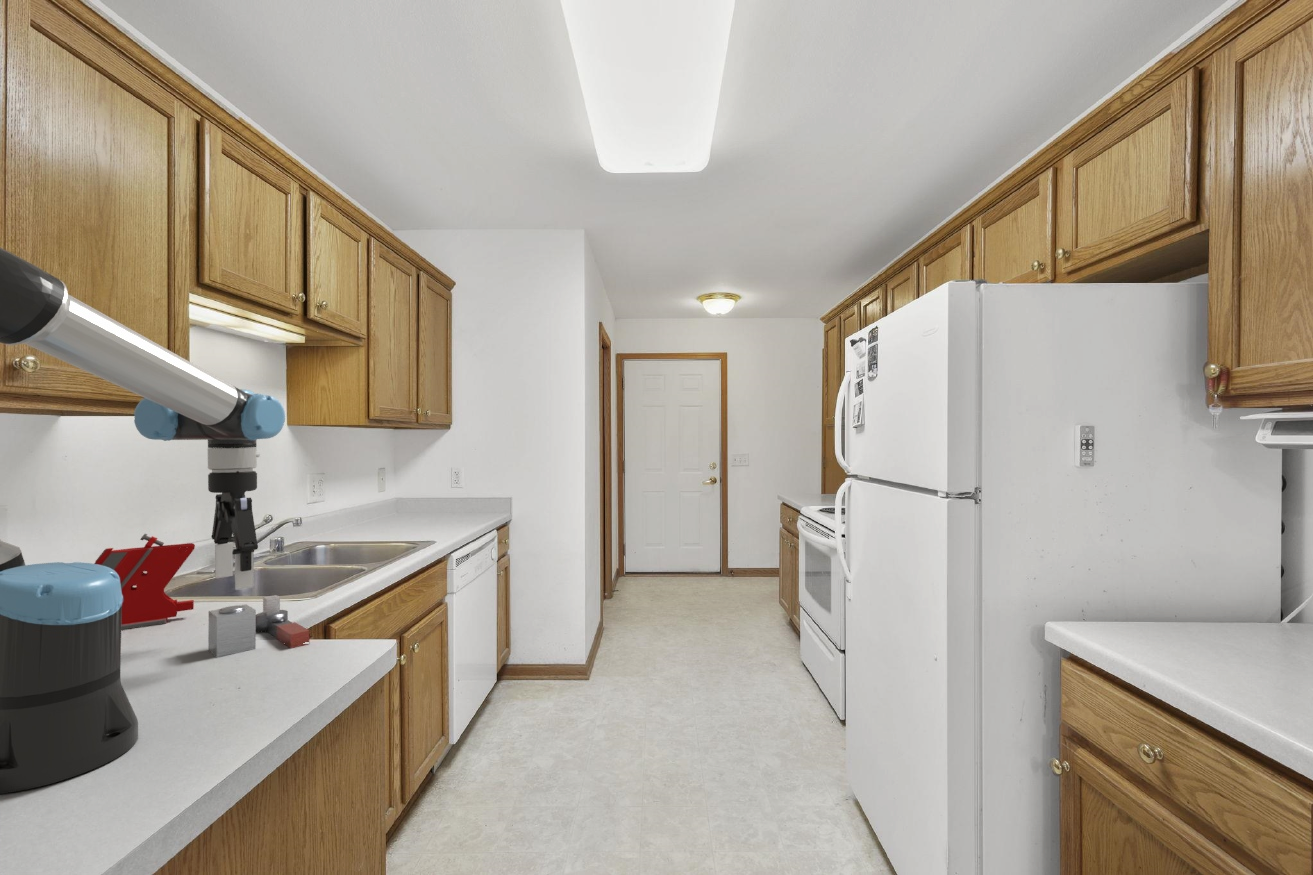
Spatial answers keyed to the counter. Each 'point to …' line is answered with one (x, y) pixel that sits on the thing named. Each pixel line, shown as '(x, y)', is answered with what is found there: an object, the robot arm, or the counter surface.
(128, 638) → the counter surface
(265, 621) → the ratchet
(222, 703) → the counter surface
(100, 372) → the robot arm
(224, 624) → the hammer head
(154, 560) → the tool
